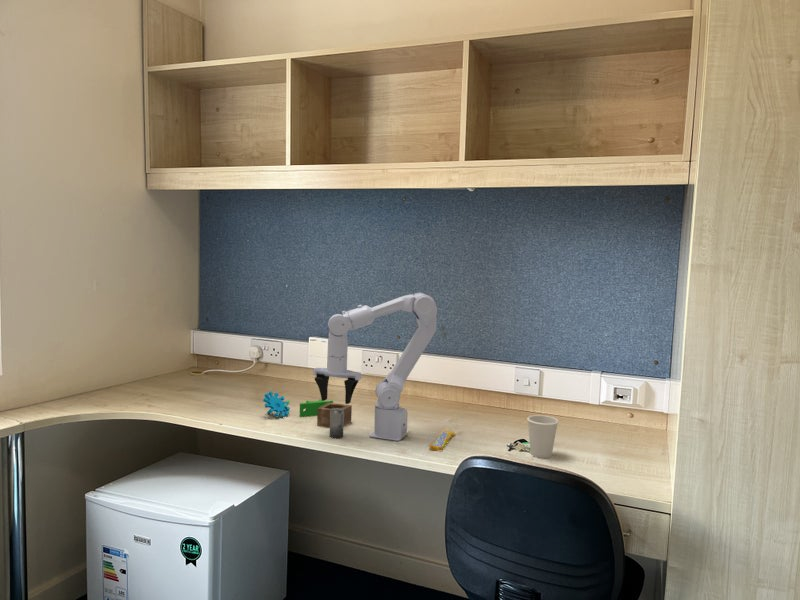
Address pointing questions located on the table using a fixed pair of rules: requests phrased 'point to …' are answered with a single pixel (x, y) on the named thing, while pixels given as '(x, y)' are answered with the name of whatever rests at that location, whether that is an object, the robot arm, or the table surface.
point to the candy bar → (442, 440)
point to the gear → (276, 404)
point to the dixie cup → (542, 435)
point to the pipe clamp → (311, 407)
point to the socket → (324, 414)
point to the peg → (336, 422)
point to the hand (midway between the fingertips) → (336, 401)
